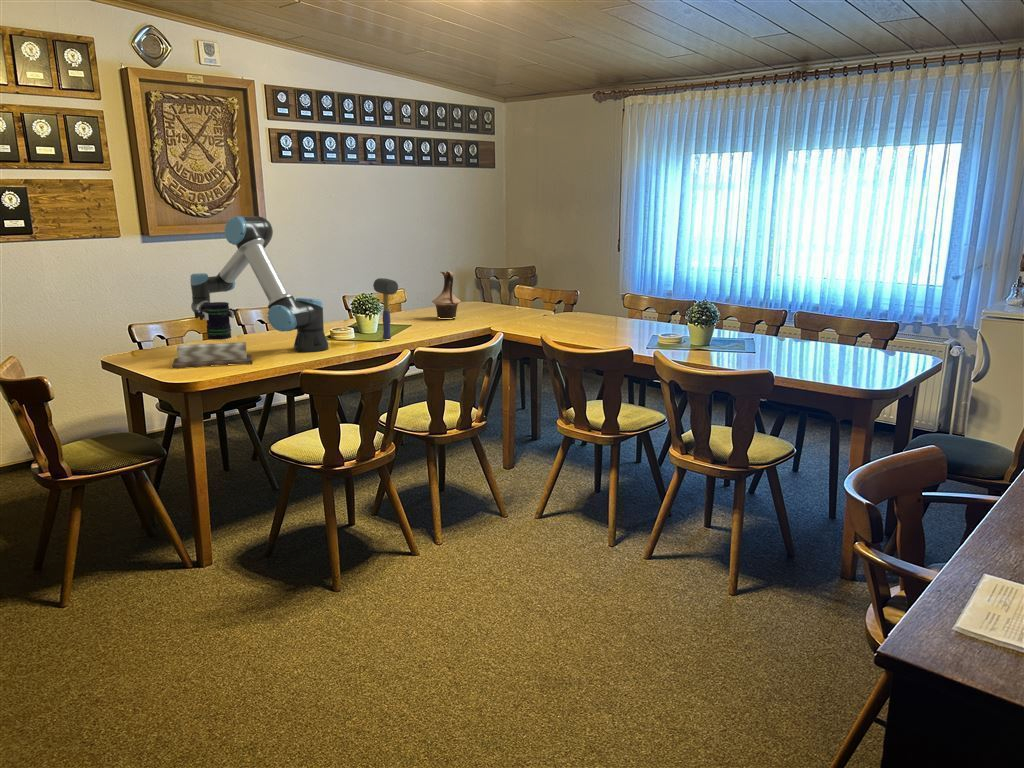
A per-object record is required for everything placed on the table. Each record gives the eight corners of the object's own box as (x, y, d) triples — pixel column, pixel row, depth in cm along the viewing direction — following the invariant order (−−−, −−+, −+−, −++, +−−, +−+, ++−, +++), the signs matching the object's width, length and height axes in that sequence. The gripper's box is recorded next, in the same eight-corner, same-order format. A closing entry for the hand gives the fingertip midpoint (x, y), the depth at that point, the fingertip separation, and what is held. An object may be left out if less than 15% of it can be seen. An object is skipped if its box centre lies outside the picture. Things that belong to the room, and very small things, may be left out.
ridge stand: (251, 357, 312) (250, 340, 310) (252, 364, 299) (251, 346, 297) (174, 361, 301) (173, 343, 299) (172, 368, 289) (170, 350, 287)
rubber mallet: (373, 339, 357) (371, 277, 350) (386, 337, 362) (385, 277, 355) (387, 343, 348) (385, 280, 341) (400, 341, 353) (399, 279, 346)
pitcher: (466, 320, 421) (466, 271, 415) (439, 322, 413) (439, 272, 406) (453, 316, 436) (453, 268, 429) (427, 317, 428) (426, 269, 421)
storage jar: (202, 338, 314) (199, 304, 311) (219, 335, 323) (216, 301, 320) (220, 340, 311) (217, 305, 307) (236, 336, 320) (234, 302, 316)
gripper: (233, 316, 336) (247, 322, 318) (181, 320, 323) (193, 326, 306) (232, 300, 334) (246, 305, 317) (179, 303, 322) (191, 309, 304)
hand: (220, 315), depth 311 cm, fingers closed on storage jar, 10 cm apart
